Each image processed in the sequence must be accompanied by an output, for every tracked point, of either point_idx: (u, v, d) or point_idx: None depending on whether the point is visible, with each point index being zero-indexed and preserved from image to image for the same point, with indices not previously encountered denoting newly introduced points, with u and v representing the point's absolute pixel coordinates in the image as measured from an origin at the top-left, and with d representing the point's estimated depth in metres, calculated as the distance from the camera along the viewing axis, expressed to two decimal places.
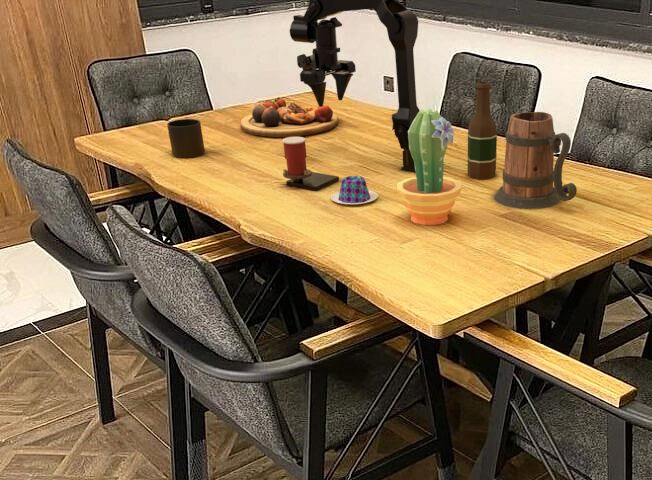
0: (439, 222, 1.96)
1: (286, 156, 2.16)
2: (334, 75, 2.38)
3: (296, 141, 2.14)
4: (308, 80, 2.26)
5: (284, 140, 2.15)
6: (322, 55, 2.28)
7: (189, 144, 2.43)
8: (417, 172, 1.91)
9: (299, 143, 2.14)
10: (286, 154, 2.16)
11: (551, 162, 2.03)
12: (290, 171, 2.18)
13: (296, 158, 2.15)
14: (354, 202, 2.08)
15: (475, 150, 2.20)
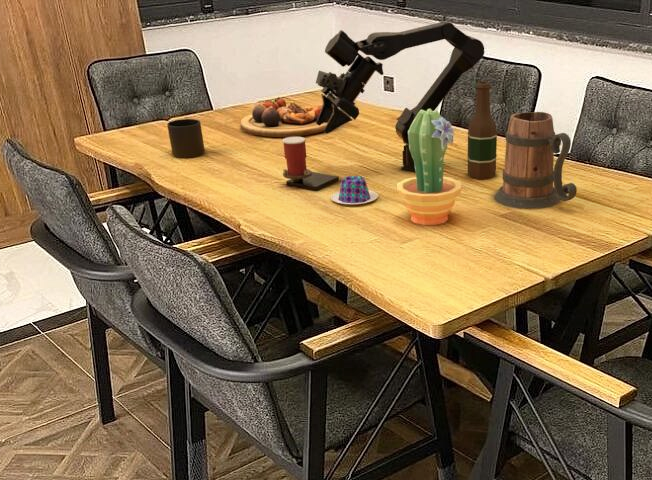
0: (439, 222, 1.96)
1: (286, 156, 2.16)
2: (326, 99, 2.21)
3: (296, 141, 2.14)
4: (347, 111, 2.10)
5: (284, 140, 2.15)
6: (355, 89, 2.14)
7: (189, 144, 2.43)
8: (417, 172, 1.91)
9: (299, 143, 2.14)
10: (286, 154, 2.16)
11: (551, 162, 2.03)
12: (290, 171, 2.18)
13: (296, 158, 2.15)
14: (354, 202, 2.08)
15: (475, 150, 2.20)
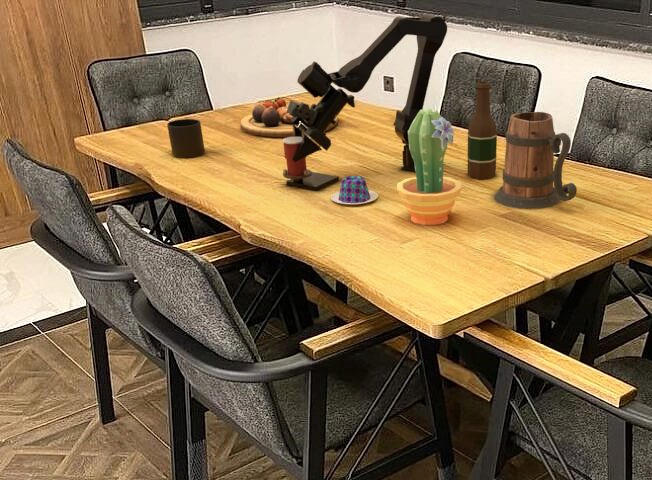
0: (439, 222, 1.96)
1: (286, 156, 2.16)
2: (297, 130, 2.18)
3: (296, 141, 2.14)
4: (320, 142, 2.09)
5: (284, 140, 2.15)
6: (326, 120, 2.14)
7: (189, 144, 2.43)
8: (417, 172, 1.91)
9: (299, 143, 2.14)
10: (286, 154, 2.16)
11: (551, 162, 2.03)
12: (290, 172, 2.18)
13: None
14: (354, 202, 2.08)
15: (475, 150, 2.20)
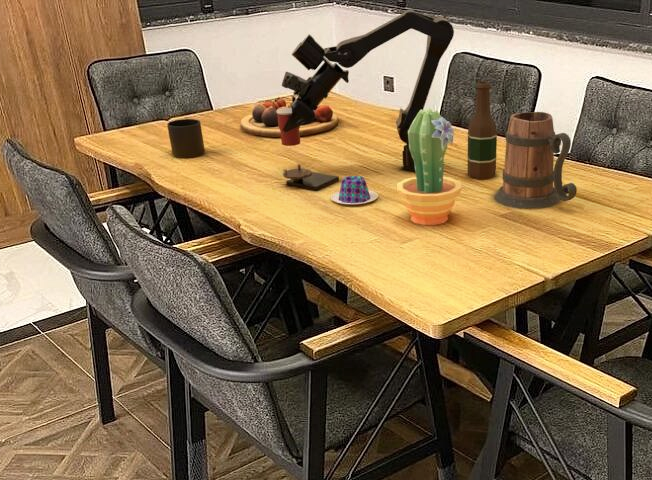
0: (439, 222, 1.96)
1: (279, 126, 2.22)
2: (294, 101, 2.23)
3: (287, 112, 2.19)
4: (303, 114, 2.13)
5: (278, 110, 2.21)
6: (318, 93, 2.17)
7: (189, 144, 2.43)
8: (417, 172, 1.91)
9: (290, 114, 2.19)
10: (279, 124, 2.21)
11: (551, 162, 2.03)
12: (282, 142, 2.24)
13: None
14: (354, 202, 2.08)
15: (475, 150, 2.20)
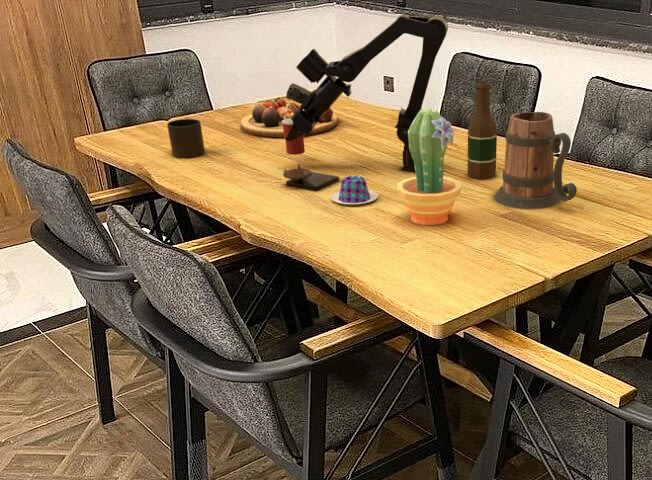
0: (439, 222, 1.96)
1: None
2: None
3: (291, 122, 2.27)
4: (300, 125, 2.20)
5: (283, 120, 2.29)
6: (319, 106, 2.23)
7: (189, 144, 2.43)
8: (417, 172, 1.91)
9: (292, 124, 2.27)
10: None
11: (551, 162, 2.03)
12: None
13: None
14: (354, 202, 2.08)
15: (475, 150, 2.20)
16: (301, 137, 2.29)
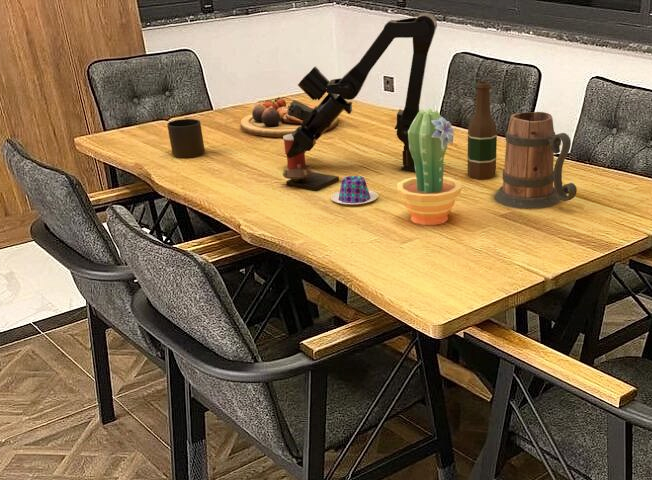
0: (439, 222, 1.96)
1: (285, 151, 2.33)
2: (303, 128, 2.34)
3: (292, 138, 2.29)
4: (301, 142, 2.22)
5: (285, 136, 2.31)
6: (320, 123, 2.26)
7: (189, 144, 2.43)
8: (417, 172, 1.91)
9: None
10: (285, 149, 2.32)
11: (551, 162, 2.03)
12: (288, 165, 2.34)
13: None
14: (354, 202, 2.08)
15: (475, 150, 2.20)
16: (302, 153, 2.32)
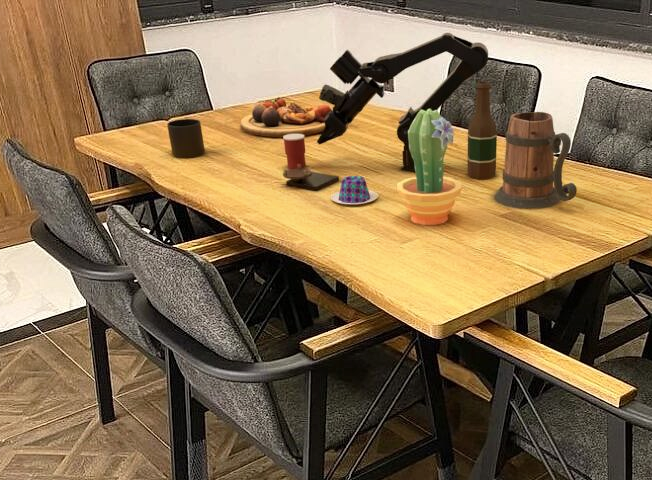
0: (439, 222, 1.96)
1: (285, 151, 2.33)
2: None
3: (292, 138, 2.29)
4: (334, 127, 2.19)
5: (285, 136, 2.31)
6: (352, 107, 2.23)
7: (189, 144, 2.43)
8: (417, 172, 1.91)
9: (294, 140, 2.29)
10: (285, 149, 2.32)
11: (551, 162, 2.03)
12: (288, 165, 2.34)
13: (291, 154, 2.31)
14: (354, 202, 2.08)
15: (475, 150, 2.20)
16: (302, 153, 2.32)
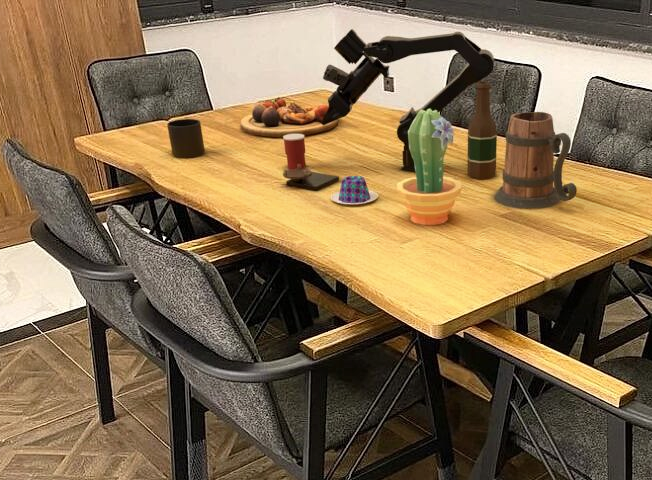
0: (439, 222, 1.96)
1: (285, 151, 2.33)
2: None
3: (292, 138, 2.29)
4: (338, 107, 2.17)
5: (285, 136, 2.31)
6: (357, 87, 2.20)
7: (189, 144, 2.43)
8: (417, 172, 1.91)
9: (294, 140, 2.29)
10: (285, 149, 2.32)
11: (551, 162, 2.03)
12: (288, 165, 2.34)
13: (291, 154, 2.31)
14: (354, 202, 2.08)
15: (475, 150, 2.20)
16: (302, 153, 2.32)
